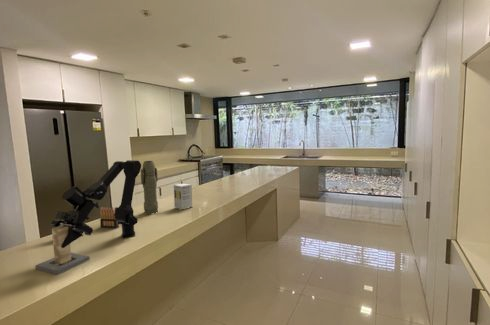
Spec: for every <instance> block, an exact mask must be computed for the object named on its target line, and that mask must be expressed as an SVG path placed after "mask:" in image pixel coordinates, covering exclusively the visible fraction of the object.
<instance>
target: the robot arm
mask: <svg viewBox="0 0 490 325" xmlns="http://www.w3.org/2000/svg"><path fill="white" fill-rule="evenodd" d="M141 169H142V163H141V162H140V161H139V160H134V159H133V160H126V161H120V160H119V161H118V160H117V161H115V162H113V164H112V165H111V167H110V168H109V169H108V170H107V171H106V172H105V173H104V174H103V175H102V176H101V178H100V179H99V180H97V181H96V182H94V183H92V184H91V185H89V186H88V187H86V189H85V190H83V191H82V190H81V189H80V188H79V187H78V186H75V185H74V186H72V187H71V188H69V189H67V190H66V191H65V192H63V194H62V196H61V200H63V201H65V202H66V203H67V204H69V205H70V206H72V207H76V208H74V210H68V211H60V210H57V211H56V213H55V216H54V219H53V220H52V221H51V222H50V226H52V227H53V228H56V227H59V226H68V227H69V228H68V235H67V237H66V238H65V240H64V242H63V244H62V246H61V247H62V248H64V247H66V246H67V245H69V244H70V245H71V243H73V242H74V241H76V240H78V239H79V238H81V237H83V236H84V235H85V236H91V235H92V234H93V232H94V229H93V228H92V227H91V226H89V225H88V224H86V223H84V222H85V221H89V219H90V217H89V215H90V214H91V212H92V211H93V209H99V202H98V201H101V200H103V198H105V196H106V195H107V193H108V188H109V186H110V185H111V184H112V183H113V182H114V181H115V179H116V178H117V177H118V176H119V175H120V173H121V172H122V171H123V174H124V178H125V179H124V185H123V188H122V195H121V201H120V205H119V206H118V207H117V206H116V209H115V214H114V216H115V219H116V221H117V223H118V224H119V225H121V237H120V238H121V239H125V238H131V237H136V230H135V226H136V224H138V220H139V219H138V218H137V217H136V216H135V215H134V209H133V206H132V204H133V197H134V190H135V185H136V184H135V183H136V178H137V177H138V175H139V174H141ZM62 220H63V221H62ZM65 222H66V223H65Z"/></svg>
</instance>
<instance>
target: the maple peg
mask: <svg viewBox="0 0 490 325" xmlns="http://www.w3.org/2000/svg"><path fill="white" fill-rule="evenodd" d="M68 228H69V227H68V226H59V227H56V228H55V227H53V228H51V235H52V246H53V255H54V256H53V258H55V263H56V264H60V265H64V264H66V263H68V262H70V261H72V259H71V253H72V250H71V243H70V244H69V245H67V246H66V247H64V248H62V247H61V246H62V244H63V242H64V240H65V238H66V237H67V235H68Z"/></svg>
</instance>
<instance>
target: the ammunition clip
mask: <svg viewBox="0 0 490 325" xmlns="http://www.w3.org/2000/svg"><path fill="white" fill-rule="evenodd" d="M116 207H117V206H116ZM116 207H115V206H114V207H113V206H112V207H110V206H106V207H105V206H101V207H100V219H99V221H100V228H102V229H104V228H105V229H119V227H120V226H119V225H120V224H118V223H117V221H116V219H115V216H114V214H115V209H116Z"/></svg>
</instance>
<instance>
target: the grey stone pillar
mask: <svg viewBox="0 0 490 325" xmlns="http://www.w3.org/2000/svg"><path fill="white" fill-rule="evenodd" d="M155 165H156V164H155V163H154V161H153V160H145V161H143V163H142V167H141V169H140V183H141V185H142V188H143V198H144V202H143V210H144V214H145V213H146V214H145V215H152V214H151V213H154V214H157V213H159V210H158V209H159V203H158V199H157V198H158V197H157V187H158V185H157V183H158V181H159V180H158V169H157V167H155ZM156 212H157V213H156Z"/></svg>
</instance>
